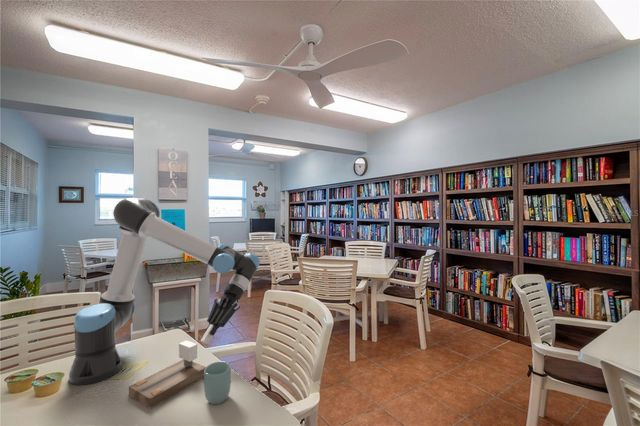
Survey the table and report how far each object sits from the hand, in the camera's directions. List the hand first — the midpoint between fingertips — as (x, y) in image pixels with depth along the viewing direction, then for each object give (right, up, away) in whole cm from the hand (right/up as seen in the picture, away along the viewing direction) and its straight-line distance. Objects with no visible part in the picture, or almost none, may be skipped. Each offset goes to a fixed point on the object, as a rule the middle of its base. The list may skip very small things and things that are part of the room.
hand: (204, 342), depth 111 cm
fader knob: (-4, -6, -5) cm, 9 cm away
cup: (+12, -10, -19) cm, 24 cm away
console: (-7, -9, -11) cm, 16 cm away
